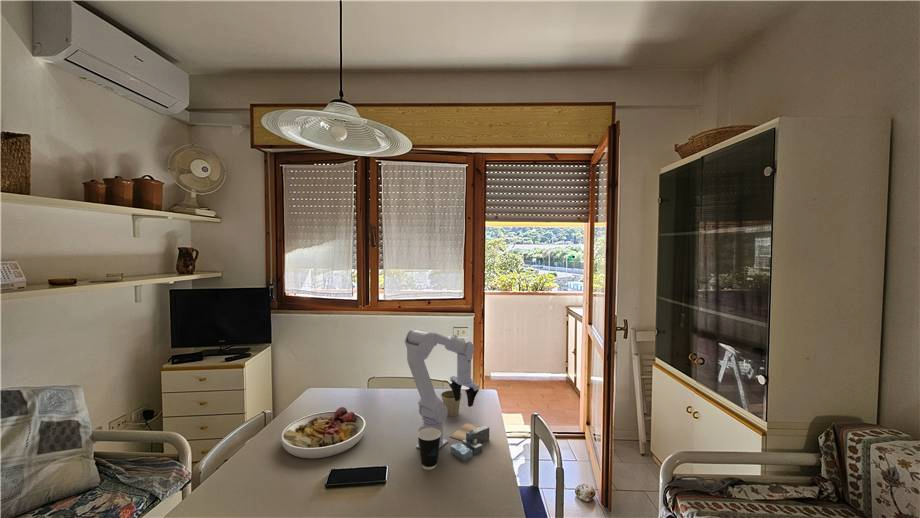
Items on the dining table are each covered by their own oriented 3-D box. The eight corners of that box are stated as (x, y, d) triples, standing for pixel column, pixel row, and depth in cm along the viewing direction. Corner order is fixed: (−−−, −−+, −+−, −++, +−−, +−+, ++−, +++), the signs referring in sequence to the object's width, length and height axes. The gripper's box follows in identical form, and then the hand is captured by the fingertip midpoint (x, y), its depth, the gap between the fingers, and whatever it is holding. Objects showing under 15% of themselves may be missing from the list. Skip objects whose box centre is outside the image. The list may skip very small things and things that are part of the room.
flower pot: (453, 420, 161) (453, 400, 160) (436, 414, 166) (436, 395, 166) (466, 412, 168) (466, 393, 168) (449, 407, 174) (449, 388, 174)
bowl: (341, 467, 127) (340, 444, 127) (262, 457, 133) (262, 435, 133) (378, 426, 157) (377, 407, 156) (312, 419, 163) (312, 401, 162)
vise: (470, 444, 142) (470, 434, 141) (483, 452, 136) (483, 442, 136) (450, 452, 136) (450, 443, 136) (463, 461, 130) (463, 451, 130)
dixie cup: (424, 456, 133) (424, 425, 133) (445, 462, 130) (445, 430, 130) (413, 469, 126) (413, 436, 125) (434, 474, 123) (434, 441, 122)
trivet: (470, 443, 142) (470, 442, 142) (449, 437, 147) (449, 436, 147) (486, 429, 153) (486, 428, 153) (466, 423, 158) (466, 422, 158)
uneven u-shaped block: (485, 437, 146) (485, 424, 146) (497, 445, 141) (497, 431, 141) (462, 447, 139) (462, 433, 139) (474, 455, 134) (474, 441, 134)
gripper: (483, 372, 152) (483, 405, 152) (458, 364, 162) (458, 395, 163) (471, 376, 147) (471, 410, 147) (446, 367, 157) (446, 399, 158)
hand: (463, 403), depth 155 cm, fingers open, 7 cm apart
